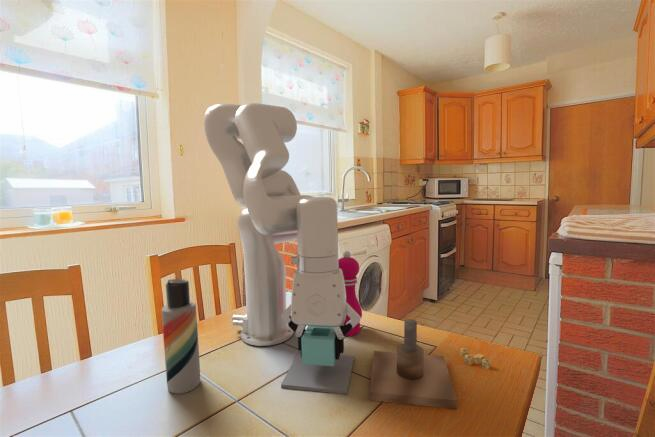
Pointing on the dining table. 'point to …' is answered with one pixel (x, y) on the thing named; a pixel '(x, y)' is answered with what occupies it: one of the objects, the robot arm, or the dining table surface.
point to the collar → (318, 346)
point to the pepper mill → (350, 287)
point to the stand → (411, 375)
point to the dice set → (477, 359)
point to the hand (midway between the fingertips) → (321, 354)
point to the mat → (320, 375)
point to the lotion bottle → (180, 338)
